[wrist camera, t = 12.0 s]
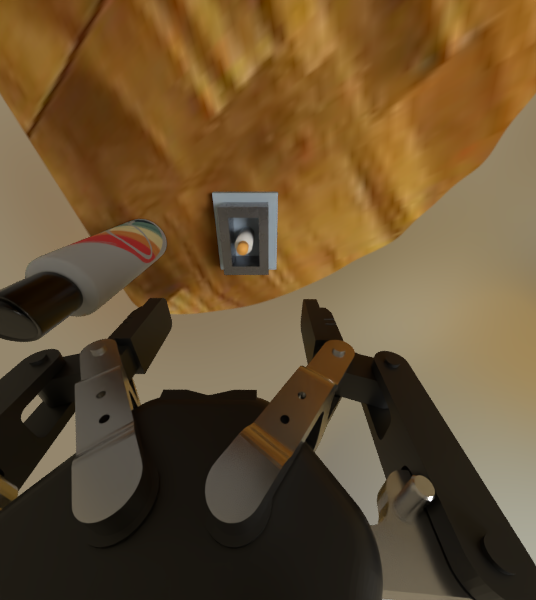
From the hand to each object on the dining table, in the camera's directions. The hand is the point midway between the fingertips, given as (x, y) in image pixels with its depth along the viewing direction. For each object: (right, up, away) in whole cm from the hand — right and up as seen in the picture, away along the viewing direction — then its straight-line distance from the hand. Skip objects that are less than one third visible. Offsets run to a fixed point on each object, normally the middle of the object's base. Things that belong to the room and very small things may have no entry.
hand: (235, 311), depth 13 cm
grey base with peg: (-1, +10, +18) cm, 20 cm away
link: (-1, +9, +16) cm, 19 cm away
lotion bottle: (-15, +9, +18) cm, 26 cm away
